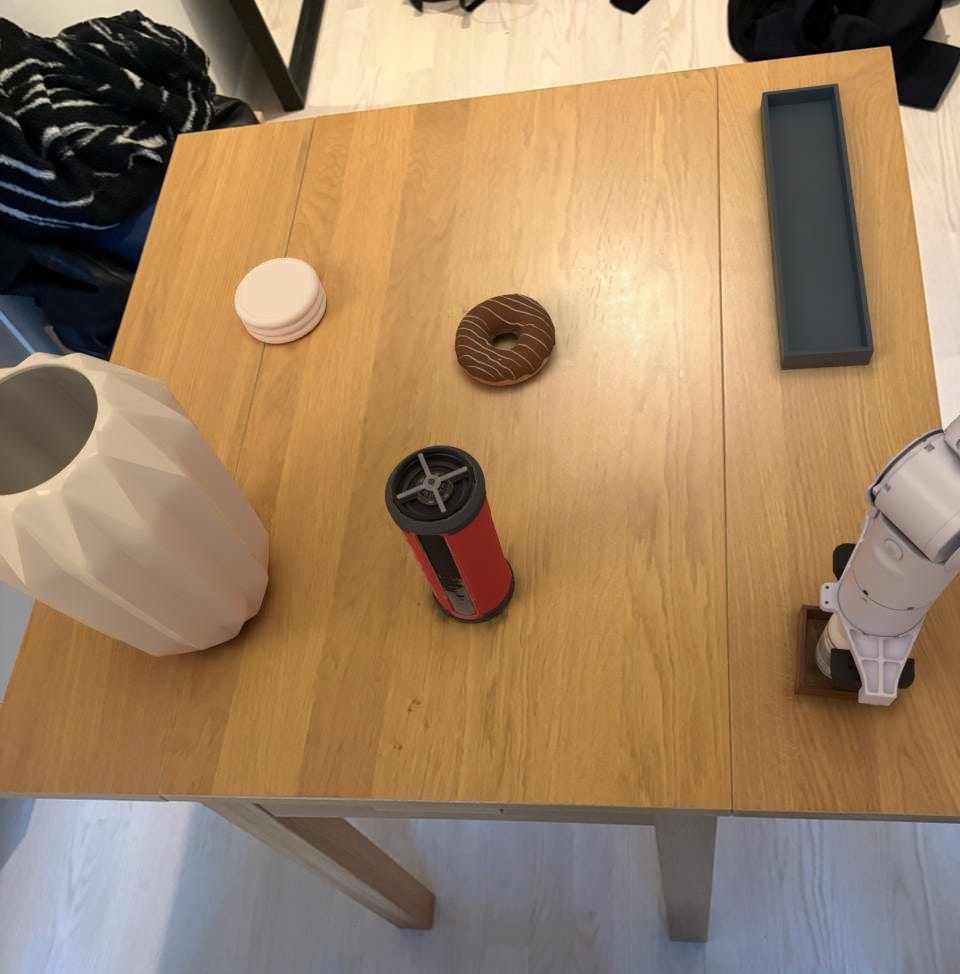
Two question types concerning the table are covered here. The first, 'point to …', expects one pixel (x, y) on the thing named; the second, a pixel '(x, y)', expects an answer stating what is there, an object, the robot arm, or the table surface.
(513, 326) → the donut
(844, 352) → the tray
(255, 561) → the vase
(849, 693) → the brown wooden square frame
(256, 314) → the pale pink macaron
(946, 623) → the table surface
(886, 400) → the table surface
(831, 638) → the pill bottle
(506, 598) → the speaker
